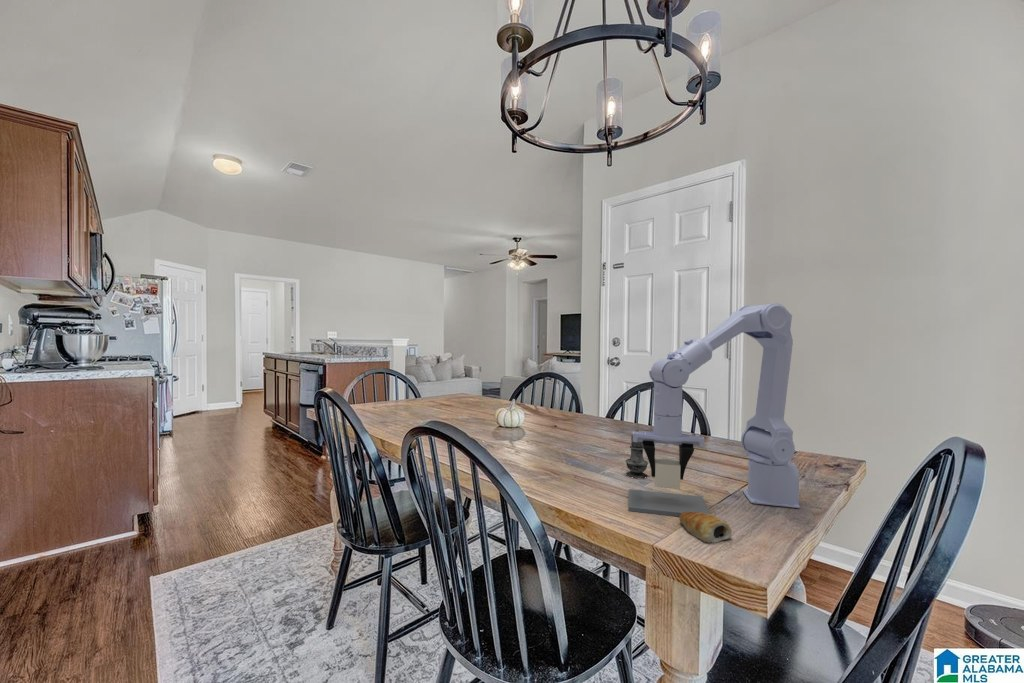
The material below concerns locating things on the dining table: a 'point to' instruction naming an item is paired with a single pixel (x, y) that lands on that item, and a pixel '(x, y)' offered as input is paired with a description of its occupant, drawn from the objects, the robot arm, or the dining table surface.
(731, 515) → the dining table surface
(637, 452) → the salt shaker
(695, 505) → the board
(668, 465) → the block
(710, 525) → the pastry
